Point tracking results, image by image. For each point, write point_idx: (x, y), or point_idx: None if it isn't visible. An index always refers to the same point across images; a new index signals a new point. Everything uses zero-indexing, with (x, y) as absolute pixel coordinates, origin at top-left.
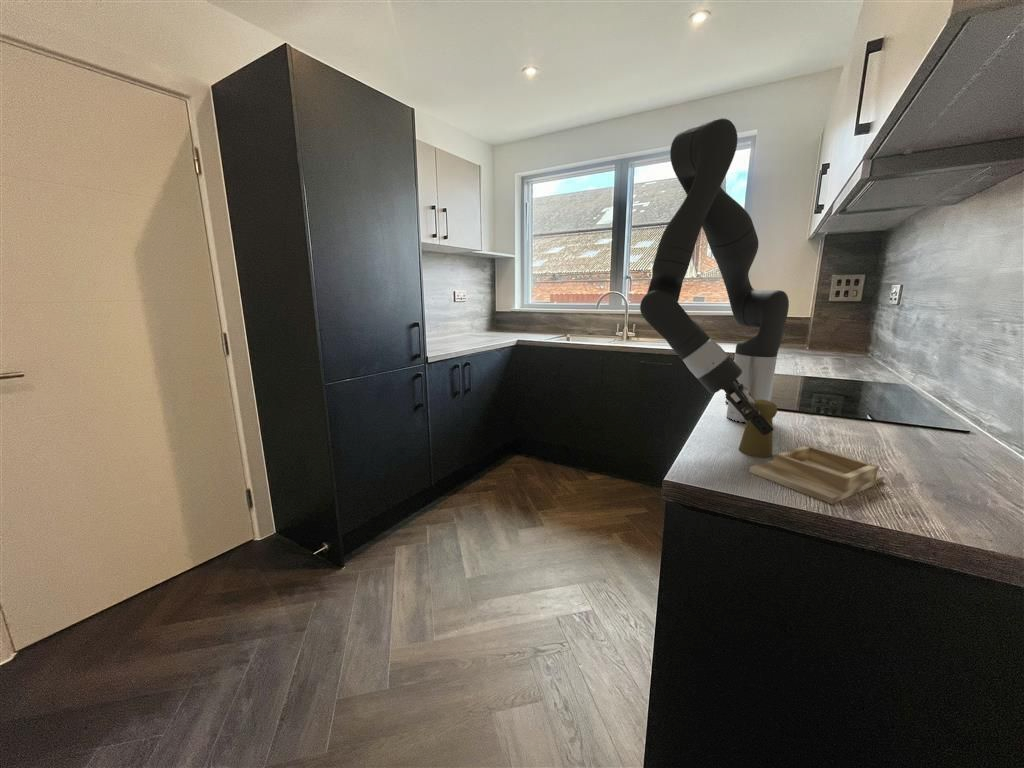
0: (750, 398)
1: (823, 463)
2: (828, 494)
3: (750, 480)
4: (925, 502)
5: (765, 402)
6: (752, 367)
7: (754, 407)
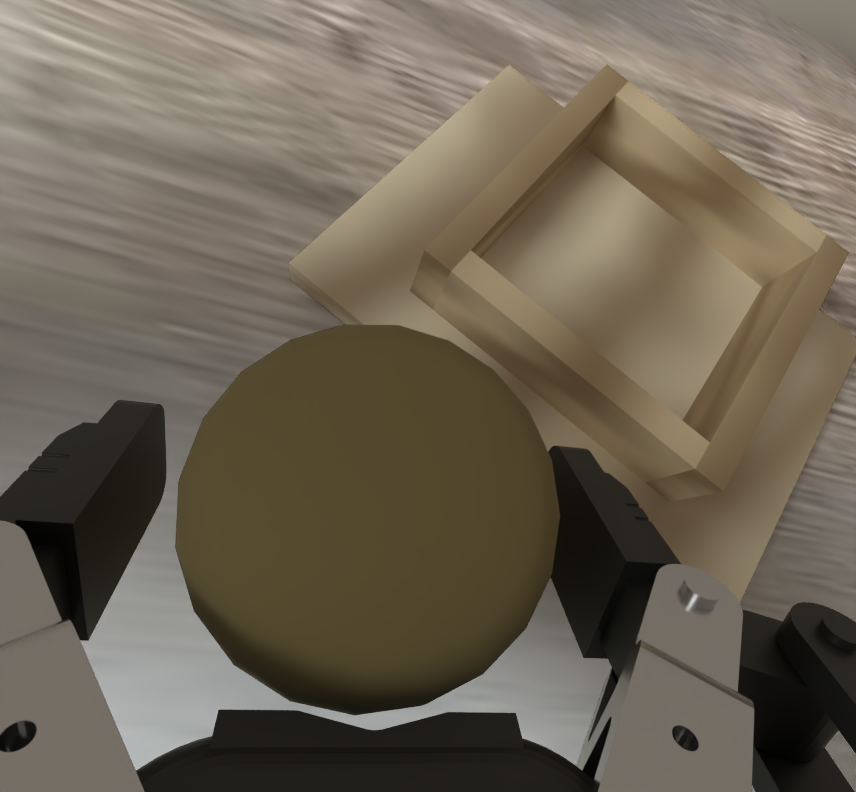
0: (743, 771)
1: (495, 239)
2: (836, 345)
3: None
4: (636, 61)
5: (494, 471)
6: None
7: (736, 662)
